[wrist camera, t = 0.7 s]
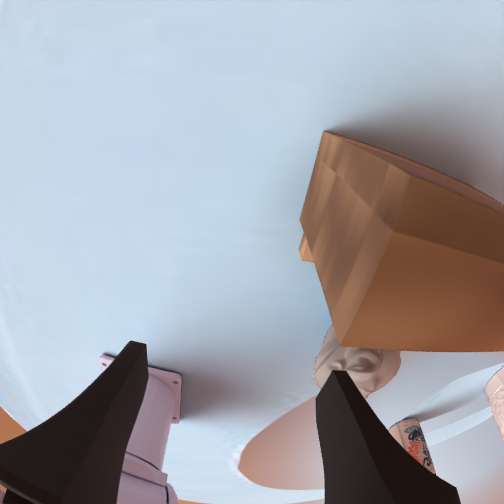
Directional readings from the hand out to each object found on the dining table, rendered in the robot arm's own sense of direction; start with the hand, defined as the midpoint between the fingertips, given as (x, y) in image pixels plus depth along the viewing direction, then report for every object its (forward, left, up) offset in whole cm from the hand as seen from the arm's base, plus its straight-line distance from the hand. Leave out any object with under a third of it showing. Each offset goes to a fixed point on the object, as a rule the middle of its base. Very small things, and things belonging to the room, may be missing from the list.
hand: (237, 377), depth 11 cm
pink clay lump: (-4, -9, -10) cm, 14 cm away
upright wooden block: (+5, -9, -10) cm, 14 cm away
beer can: (-21, -25, -10) cm, 34 cm away
